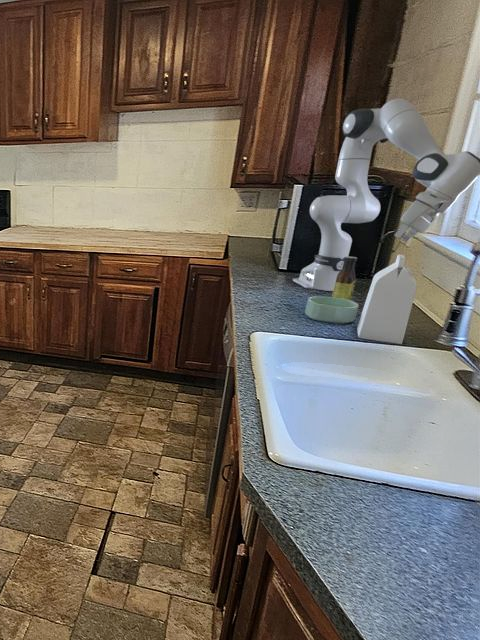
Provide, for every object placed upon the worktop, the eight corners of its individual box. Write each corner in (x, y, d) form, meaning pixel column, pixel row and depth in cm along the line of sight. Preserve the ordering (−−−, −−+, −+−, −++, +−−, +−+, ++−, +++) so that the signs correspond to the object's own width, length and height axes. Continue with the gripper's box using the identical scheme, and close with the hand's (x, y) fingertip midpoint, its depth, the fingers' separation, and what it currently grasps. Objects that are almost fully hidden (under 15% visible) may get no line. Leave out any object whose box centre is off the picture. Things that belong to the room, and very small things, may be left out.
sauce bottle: (350, 312, 197) (364, 259, 190) (332, 311, 198) (345, 258, 191) (344, 307, 203) (357, 256, 195) (326, 306, 204) (338, 255, 197)
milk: (356, 327, 179) (377, 251, 170) (398, 333, 174) (421, 254, 164) (358, 337, 170) (380, 257, 160) (401, 344, 164) (427, 261, 155)
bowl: (295, 312, 197) (298, 296, 194) (334, 311, 198) (338, 295, 196) (322, 325, 182) (326, 308, 180) (364, 324, 184) (369, 307, 181)
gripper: (431, 203, 182) (399, 238, 189) (418, 191, 168) (383, 229, 175) (449, 212, 178) (415, 247, 185) (437, 201, 165) (401, 239, 172)
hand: (400, 239), depth 180 cm, fingers open, 8 cm apart
